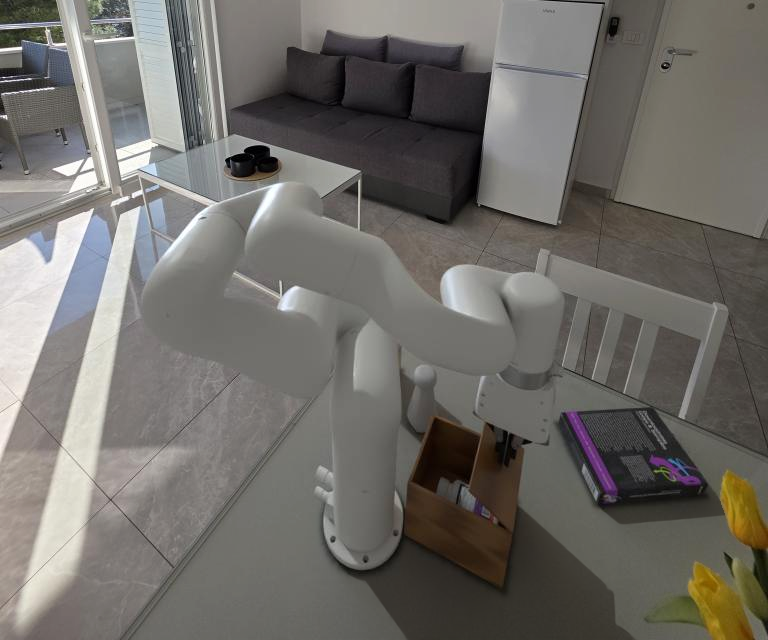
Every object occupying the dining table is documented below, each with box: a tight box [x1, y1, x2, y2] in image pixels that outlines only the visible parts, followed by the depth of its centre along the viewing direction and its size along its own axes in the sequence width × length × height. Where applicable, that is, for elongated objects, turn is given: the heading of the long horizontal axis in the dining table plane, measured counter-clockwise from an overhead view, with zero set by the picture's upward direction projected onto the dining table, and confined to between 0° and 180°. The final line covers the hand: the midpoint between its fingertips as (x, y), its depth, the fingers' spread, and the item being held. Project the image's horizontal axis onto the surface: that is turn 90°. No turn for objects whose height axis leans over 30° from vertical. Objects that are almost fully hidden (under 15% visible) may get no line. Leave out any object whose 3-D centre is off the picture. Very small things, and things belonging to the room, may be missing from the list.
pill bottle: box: [436, 477, 499, 525], centre depth 67 cm, size 5×5×10 cm
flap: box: [468, 421, 525, 534], centre depth 62 cm, size 7×12×1 cm
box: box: [558, 406, 710, 505], centre depth 77 cm, size 14×4×20 cm
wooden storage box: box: [403, 414, 514, 590], centre depth 67 cm, size 15×12×12 cm
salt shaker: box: [406, 364, 438, 434], centre depth 81 cm, size 6×6×13 cm
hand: (504, 456), depth 64 cm, fingers closed
